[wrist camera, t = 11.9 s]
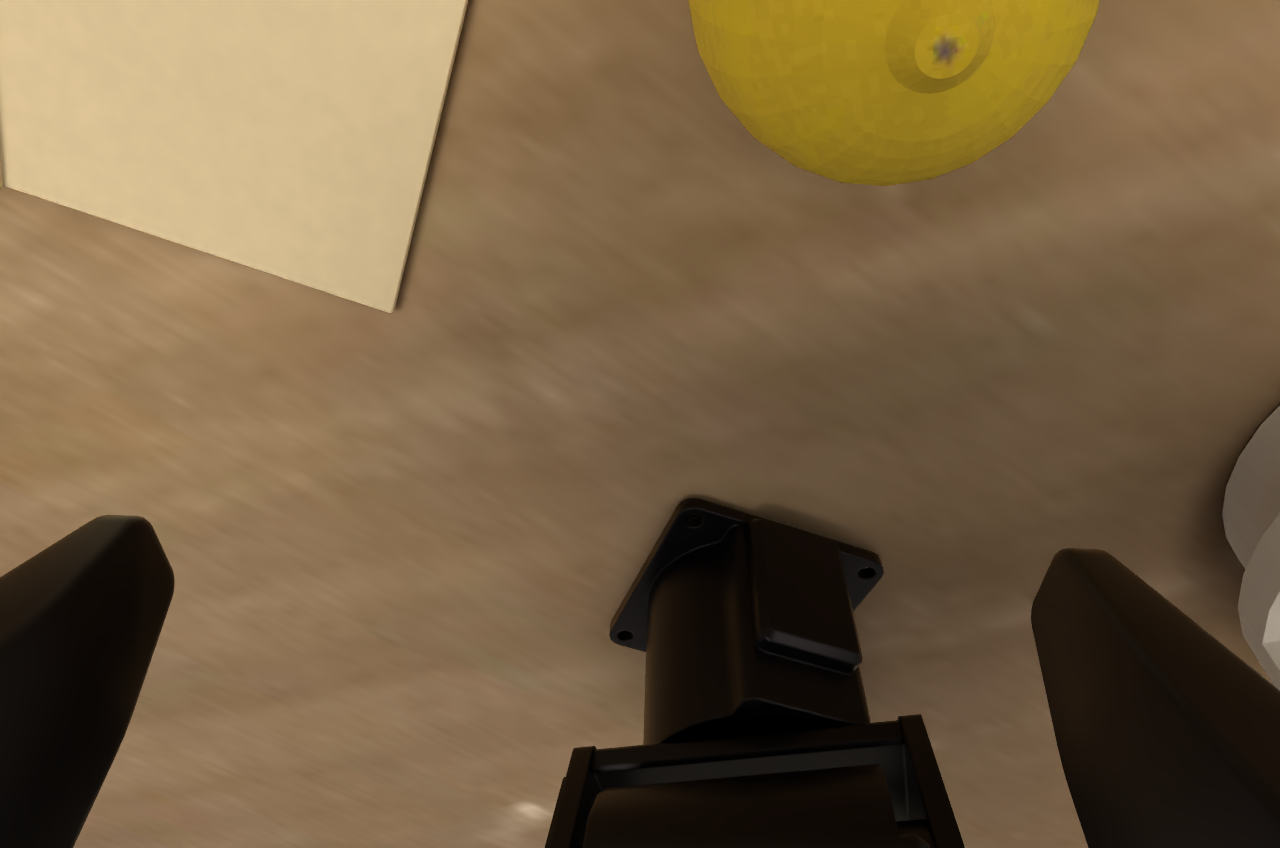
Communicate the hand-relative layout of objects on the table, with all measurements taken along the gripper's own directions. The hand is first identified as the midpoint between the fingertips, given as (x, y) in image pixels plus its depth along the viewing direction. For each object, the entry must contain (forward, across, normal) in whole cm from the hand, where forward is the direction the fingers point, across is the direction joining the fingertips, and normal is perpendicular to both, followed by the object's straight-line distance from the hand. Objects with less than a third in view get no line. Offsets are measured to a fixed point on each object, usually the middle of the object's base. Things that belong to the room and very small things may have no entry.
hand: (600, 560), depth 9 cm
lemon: (+12, -4, -4) cm, 13 cm away
